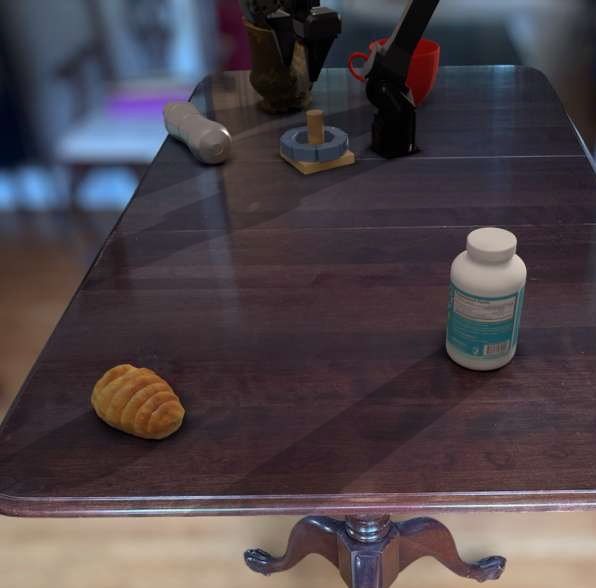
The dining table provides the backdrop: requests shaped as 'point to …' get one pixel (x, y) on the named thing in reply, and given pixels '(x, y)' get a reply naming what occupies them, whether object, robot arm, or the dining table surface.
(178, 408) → the pastry
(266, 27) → the pottery vessel
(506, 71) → the dining table surface
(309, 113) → the stand
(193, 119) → the plastic bottle
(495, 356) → the pill bottle
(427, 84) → the ceramic cup
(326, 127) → the ring
